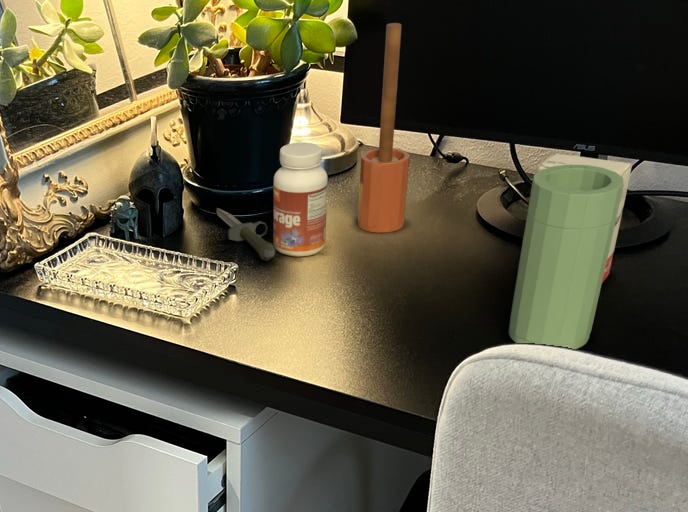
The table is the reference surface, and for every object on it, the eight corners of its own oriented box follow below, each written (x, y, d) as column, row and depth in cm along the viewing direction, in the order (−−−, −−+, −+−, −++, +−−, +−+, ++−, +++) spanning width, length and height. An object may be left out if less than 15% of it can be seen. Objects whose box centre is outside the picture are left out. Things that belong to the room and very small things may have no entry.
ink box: (611, 274, 110) (637, 161, 102) (596, 291, 108) (621, 176, 100) (535, 259, 114) (554, 149, 106) (518, 275, 111) (537, 163, 103)
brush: (395, 215, 125) (410, 21, 110) (392, 225, 122) (407, 28, 108) (369, 214, 125) (381, 21, 111) (366, 224, 123) (377, 28, 109)
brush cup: (406, 216, 126) (411, 148, 120) (401, 233, 122) (406, 164, 116) (361, 214, 127) (364, 147, 121) (355, 231, 123) (358, 163, 117)
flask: (587, 319, 103) (621, 165, 93) (589, 355, 97) (626, 196, 87) (509, 314, 105) (534, 163, 94) (507, 349, 99) (533, 192, 89)
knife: (201, 202, 128) (238, 196, 129) (202, 218, 130) (238, 212, 131) (253, 248, 115) (294, 241, 116) (253, 266, 116) (294, 259, 117)
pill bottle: (262, 247, 120) (261, 149, 113) (300, 233, 123) (302, 136, 115) (297, 262, 116) (298, 162, 109) (336, 247, 119) (339, 148, 111)
